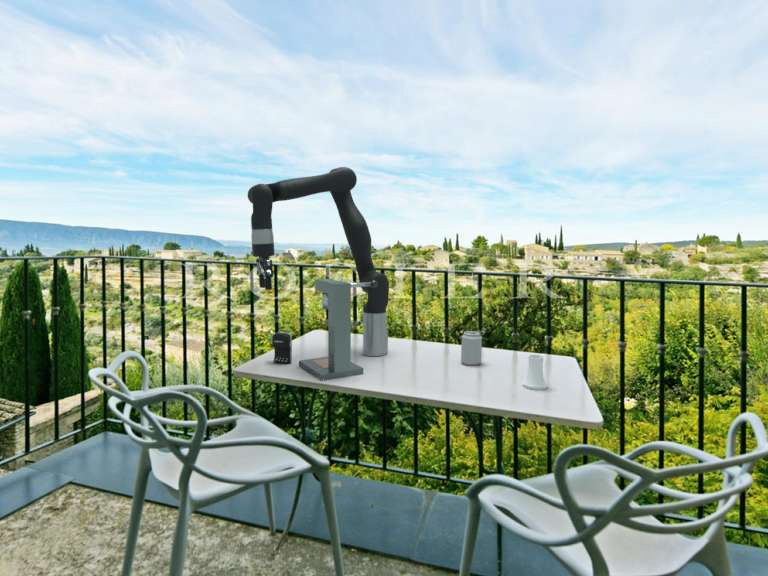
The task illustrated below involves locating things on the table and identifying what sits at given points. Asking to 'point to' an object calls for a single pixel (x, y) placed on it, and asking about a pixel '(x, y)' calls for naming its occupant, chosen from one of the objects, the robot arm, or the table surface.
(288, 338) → the battery charger
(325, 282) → the press
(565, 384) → the table surface
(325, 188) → the robot arm
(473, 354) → the can
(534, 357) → the vase
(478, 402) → the table surface
